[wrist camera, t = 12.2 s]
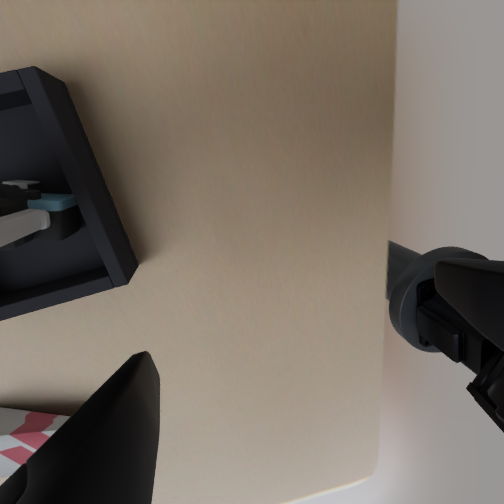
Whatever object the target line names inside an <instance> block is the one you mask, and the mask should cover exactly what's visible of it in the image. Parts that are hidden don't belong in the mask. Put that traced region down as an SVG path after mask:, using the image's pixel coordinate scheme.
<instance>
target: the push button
mask: <svg viewBox="0 0 504 504" xmlns="http://www.w3.org/2000/svg"><path fill="white" fill-rule="evenodd" d="M37 183H40V182H39V181H29V180H13V181H7V182H3V183H2V184H0V251H3V250H11V249H14V248H17V247H19V246H21V245H23V244H25V243H27V242H29V241H31V240H48V241H61V240H64V239H66V238H68V237H69V236H71V235H73V234H74V233H76V232H78V231H79V216H78V204H77V202H76V200H75V197H74V195H73V194H52V193H41V191H40V190H35V189H28V187H27V186H28V184H37Z"/></svg>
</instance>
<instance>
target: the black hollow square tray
mask: <svg viewBox="0 0 504 504" xmlns="http://www.w3.org/2000/svg"><path fill="white" fill-rule="evenodd" d="M13 180H29V181H39V182H40V183H37V184H28V186H27V187H28V189H35V190H40V191H41V193H52V194H73V195H74V197H75V200H76V202H77V204H78V216H79V231H78V232H76V233H74V234H73V235H71V236H69V237H68V238H66V239H64V240H61V241H48V240H31V241H29V242H27V243H25V244H23V245H21V246H19V247H17V248H14V249H11V250H3V251H0V321H2V320H5V319H9V318H12V317H16V316H19V315H22V314H26V313H29V312H33V311H36V310H40V309H43V308H47V307H50V306H54V305H57V304H61V303H64V302H68V301H71V300H75V299H78V298H81V297H85V296H88V295H92V294H95V293H99V292H102V291H106V290H109V289H113V288H114V287H120V286H123V285H127V284H128V283H129V282H130V280H131V278H132V276H133V275H134V273H135V271H136V269H137V268H138V266H139V265H138V262H137V260H136V257H135V255H134V252H133V250H132V248H131V245H130V243H129V240H128V238H127V235H126V233H125V230H124V228H123V225H122V223H121V220H120V218H119V216H118V213H117V211H116V208H115V206H114V203H113V201H112V198H111V196H110V193H109V191H108V188H107V186H106V184H105V181H104V179H103V176H102V174H101V171H100V169H99V166H98V164H97V161H96V159H95V156H94V154H93V152H92V149H91V147H90V144H89V142H88V139H87V137H86V134H85V132H84V129H83V127H82V124H81V122H80V120H79V117H78V115H77V112H76V110H75V107H74V105H73V102H72V100H71V97H70V95H69V92H68V90H67V88H66V85H65V83H64V82H63V81H61V80H59V79H57V78H55V77H54V76H52V75H50V74H48V73H46V72H45V71H43V70H41V69H39V68H37V67H35V66H31V67H27V68H22V69H19V70H12V71H8V72H3V73H0V184H2V183H3V182H7V181H13Z"/></svg>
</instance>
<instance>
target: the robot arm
mask: <svg viewBox="0 0 504 504" xmlns="http://www.w3.org/2000/svg"><path fill="white" fill-rule="evenodd" d="M434 268H435V277H434V278H431V279H428V280H425V281H422V282H420V283H418V284H417V286H416V297H417V323H418V333H419V343H420V344H421V345H422V346H423V347H430V346H433V345H434V346H435V347H436V348H438V349H439V350H440V351H441V352H442V353H444V354H445V355H446V356H447V357H449V358H450V359H451V360H452V361H454V362H456V363H458V362H462V363H463V364H464V365H465V366H466V367H468V368H469V369H470V370H472V371H473V372H474V373H475V374H477V376H476V377H475V379H474V380H473V382H472V383H471V382H470V383H469V385H468V386H467V388H466V389H467V390H468V391H469V392H470V394H471V395H472V396H473V397H474V399H475V401H476V402H477V403H478V404H479V405H480V406H481V407H482V409H483V410H484V411H485V412H486V413H487V414H488V415H489V417H490V418H491V419H492V420H493V421H494V422H495V423H496V424H497V426H498V427H499V428H500V429H501V430H502V431H503V432H504V261H494V260H478V259H463V258H446V259H443V260H440V261H437V262H436V263H435V267H434ZM423 287H424V288H423ZM422 288H423V289H422ZM159 431H160V378H159V373H158V371H157V369H156V366H155V364H154V362H153V360H152V357H151V355H150V354H149V352H147V351H144V352H140V353H137V354H134V355H132V356H131V357H130V358H129V359H128V360H127V361H126V362H125V363H124V364H123V365H122V366H121V367H120V368H119V369H118V370H117V371H116V372H115V373H114V374H113V375H112V376H111V377H110V378H109V379H108V380H107V381H106V382H105V383H104V384H103V385H102V386H101V387H100V388H99V389H98V390H97V391H96V392H95V393H94V394H93V395H92V396H91V397H90V398H89V399H88V400H87V401H86V402H85V403H84V404H83V405H82V406H81V407H80V408H79V409H78V410H77V411H76V412H75V413H74V414H73V415H72V416H71V417H70V418H69V419H68V420H67V421H66V422H65V423H64V424H63V425H62V426H61V427H60V428H58V429H57V430H56V431H55V432H54V433H53V434H52V435H51V436H50V437H49V438H48V439H47V440H46V441H45V442H44V443H43V444H42V445H41V446H40V447H39V448H38V449H37V450H36V451H35V452H34V453H33V454H32V455H31V456H30V457H29V458H28V459H27V461H26V463H23V464H22V465H21V466H20V467H19V468H18V469H17V470H16V471H15V472H14V473H13V474H12V475H11V476H10V477H9V478H8V479H7V480H6V481H5V482H4V483H3V484H2V485H1V486H0V504H151V502H152V494H153V485H154V477H155V468H156V460H157V451H158V443H159Z"/></svg>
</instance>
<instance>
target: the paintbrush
mask: <svg viewBox="0 0 504 504" xmlns="http://www.w3.org/2000/svg"><path fill="white" fill-rule="evenodd" d="M70 417H71V416H63V415H55V414H47V413H40V412H32V411H24V410H17V409H9V408H1V407H0V478H1V477H6V476H11V475H12V474H13V473H14V472H15V471H16V470H17V469H18V468H19V467H20V466H21V465H22V464H23V463H26V461H27V459H28V458H29V457H30V456H31V455H32V454H33V453H34V452H35V451H36V450H37V449H38V448H39V447H40V446H41V445H42V444H43V443H44V442H45V441H46V440H47V439H48V438H49V437H50V436H51V435H52V434H53V433H54V432H55V431H56V430H57V429H58V428H60V427H61V426H62V425H63V424H64V423H65V422H66V421H67V420H68V419H69V418H70Z"/></svg>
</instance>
